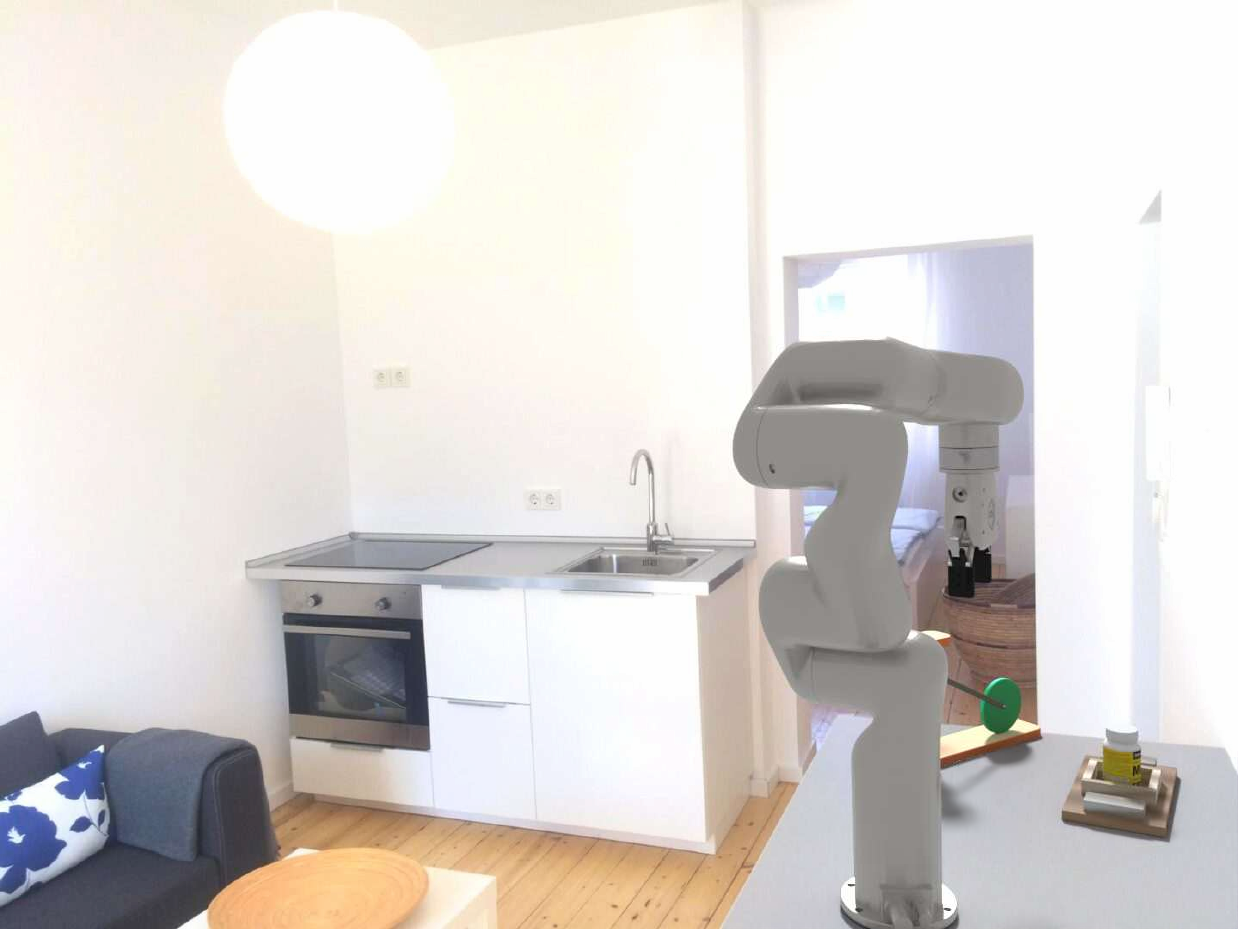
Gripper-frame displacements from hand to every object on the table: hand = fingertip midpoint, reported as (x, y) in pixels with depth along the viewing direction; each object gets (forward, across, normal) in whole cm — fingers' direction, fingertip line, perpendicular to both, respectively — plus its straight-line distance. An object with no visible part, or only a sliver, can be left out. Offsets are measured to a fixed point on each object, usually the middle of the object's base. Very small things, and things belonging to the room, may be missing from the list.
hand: (970, 589), depth 137 cm
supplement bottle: (+29, +14, -17) cm, 36 cm away
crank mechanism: (+31, +25, +6) cm, 40 cm away
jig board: (+30, +13, -17) cm, 37 cm away
